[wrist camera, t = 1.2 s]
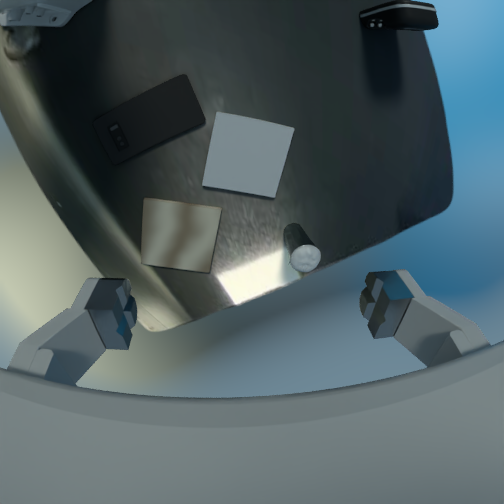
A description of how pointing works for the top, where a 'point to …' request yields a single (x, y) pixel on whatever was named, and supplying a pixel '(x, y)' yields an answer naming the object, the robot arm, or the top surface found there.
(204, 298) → the top surface
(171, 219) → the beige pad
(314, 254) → the milkshake
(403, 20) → the battery charger
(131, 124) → the phone
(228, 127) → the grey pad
